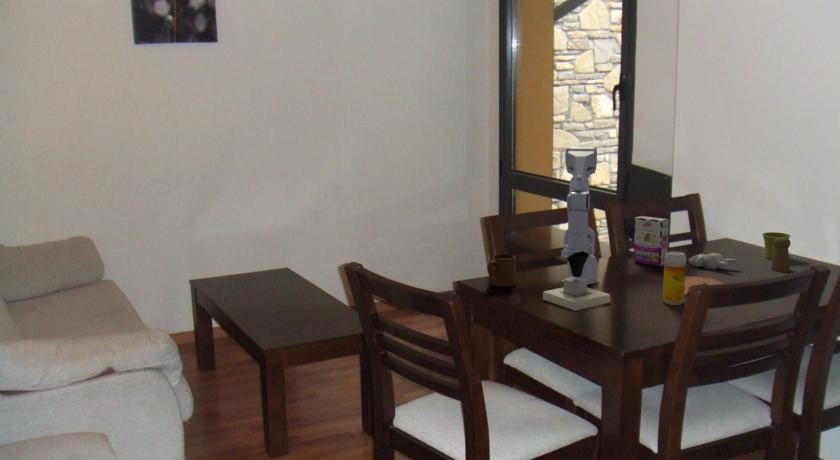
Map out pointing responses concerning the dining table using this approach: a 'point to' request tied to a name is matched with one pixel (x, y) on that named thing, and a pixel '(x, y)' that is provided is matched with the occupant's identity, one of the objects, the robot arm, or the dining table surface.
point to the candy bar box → (650, 240)
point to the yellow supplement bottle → (674, 278)
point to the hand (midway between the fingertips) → (576, 276)
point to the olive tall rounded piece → (781, 255)
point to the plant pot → (772, 242)
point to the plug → (575, 286)
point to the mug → (503, 270)
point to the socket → (576, 298)
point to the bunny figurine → (710, 261)
